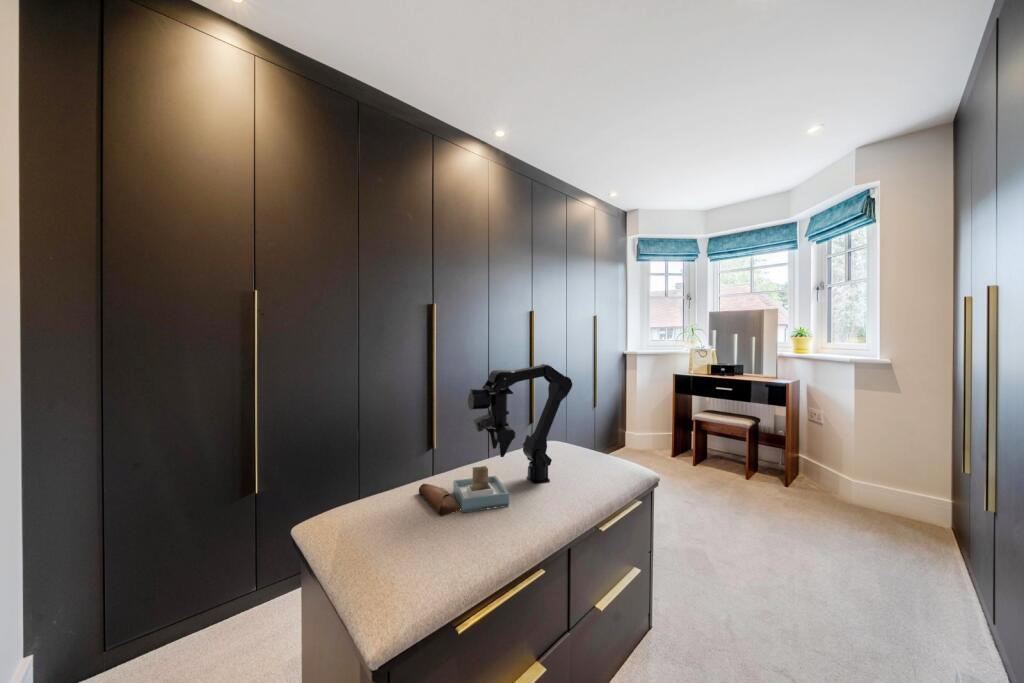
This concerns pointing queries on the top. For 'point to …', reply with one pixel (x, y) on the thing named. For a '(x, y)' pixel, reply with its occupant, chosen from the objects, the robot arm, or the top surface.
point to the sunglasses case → (439, 499)
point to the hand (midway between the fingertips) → (498, 452)
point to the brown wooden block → (480, 478)
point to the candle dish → (480, 495)
